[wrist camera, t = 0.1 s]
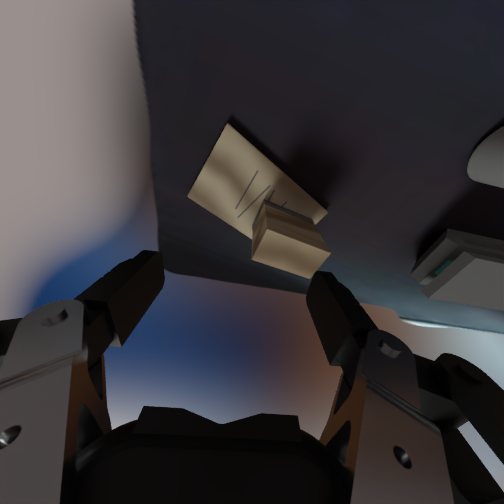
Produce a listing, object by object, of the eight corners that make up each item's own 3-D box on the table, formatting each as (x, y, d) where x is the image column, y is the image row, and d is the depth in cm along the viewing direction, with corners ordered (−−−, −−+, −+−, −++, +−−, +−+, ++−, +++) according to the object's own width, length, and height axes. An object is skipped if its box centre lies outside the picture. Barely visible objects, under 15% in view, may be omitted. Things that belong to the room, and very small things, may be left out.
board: (228, 123, 24) (227, 123, 23) (325, 209, 31) (328, 212, 30) (189, 194, 30) (187, 196, 29) (278, 254, 36) (279, 257, 35)
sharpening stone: (530, 246, 34) (627, 288, 25) (490, 275, 38) (561, 320, 30) (414, 221, 32) (475, 258, 23) (386, 255, 36) (428, 298, 27)
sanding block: (263, 198, 29) (266, 228, 20) (311, 218, 30) (332, 252, 22) (252, 224, 31) (250, 259, 23) (296, 241, 33) (309, 279, 25)
